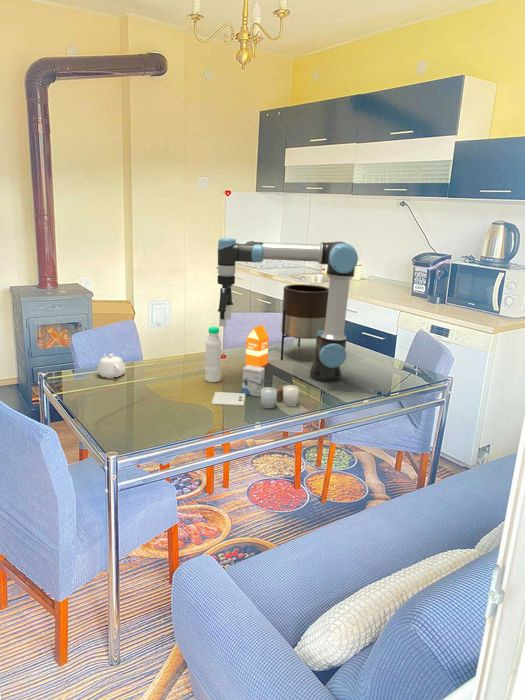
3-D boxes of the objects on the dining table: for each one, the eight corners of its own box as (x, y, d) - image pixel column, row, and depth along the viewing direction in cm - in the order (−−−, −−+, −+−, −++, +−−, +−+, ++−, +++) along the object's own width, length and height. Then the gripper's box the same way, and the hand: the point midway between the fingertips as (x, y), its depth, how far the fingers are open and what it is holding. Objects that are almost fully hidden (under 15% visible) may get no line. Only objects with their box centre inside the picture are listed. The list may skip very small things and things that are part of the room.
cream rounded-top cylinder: (297, 401, 216) (298, 385, 214) (297, 407, 210) (299, 391, 208) (282, 400, 216) (283, 384, 214) (282, 406, 210) (283, 390, 208)
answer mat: (245, 394, 220) (245, 393, 220) (243, 406, 208) (243, 404, 207) (215, 393, 220) (215, 391, 220) (211, 404, 208) (211, 403, 208)
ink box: (241, 393, 221) (242, 368, 218) (245, 390, 226) (246, 364, 222) (259, 397, 218) (261, 371, 215) (263, 393, 223) (265, 367, 220)
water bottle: (218, 383, 232) (219, 330, 225) (203, 381, 233) (203, 328, 226) (222, 378, 238) (223, 326, 231) (207, 377, 240) (208, 325, 233)
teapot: (91, 370, 241) (90, 350, 238) (117, 367, 248) (116, 346, 245) (104, 383, 225) (103, 361, 222) (132, 379, 232) (131, 358, 229)
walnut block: (282, 396, 221) (282, 385, 219) (287, 400, 216) (288, 389, 215) (271, 397, 219) (272, 386, 217) (277, 402, 214) (277, 390, 213)
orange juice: (267, 363, 263) (269, 326, 257) (258, 368, 256) (259, 329, 250) (254, 360, 267) (256, 323, 261) (245, 364, 260) (246, 326, 254)
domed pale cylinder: (275, 403, 212) (276, 387, 210) (275, 409, 206) (276, 393, 204) (260, 402, 213) (261, 386, 211) (260, 408, 206) (260, 392, 204)
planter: (275, 348, 290) (278, 282, 280) (319, 349, 293) (324, 284, 283) (282, 363, 265) (286, 291, 254) (330, 363, 268) (336, 292, 257)
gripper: (222, 270, 233) (221, 316, 239) (212, 278, 209) (211, 328, 215) (239, 271, 232) (237, 317, 238) (230, 279, 208) (229, 330, 214)
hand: (225, 322), depth 227 cm, fingers open, 13 cm apart
